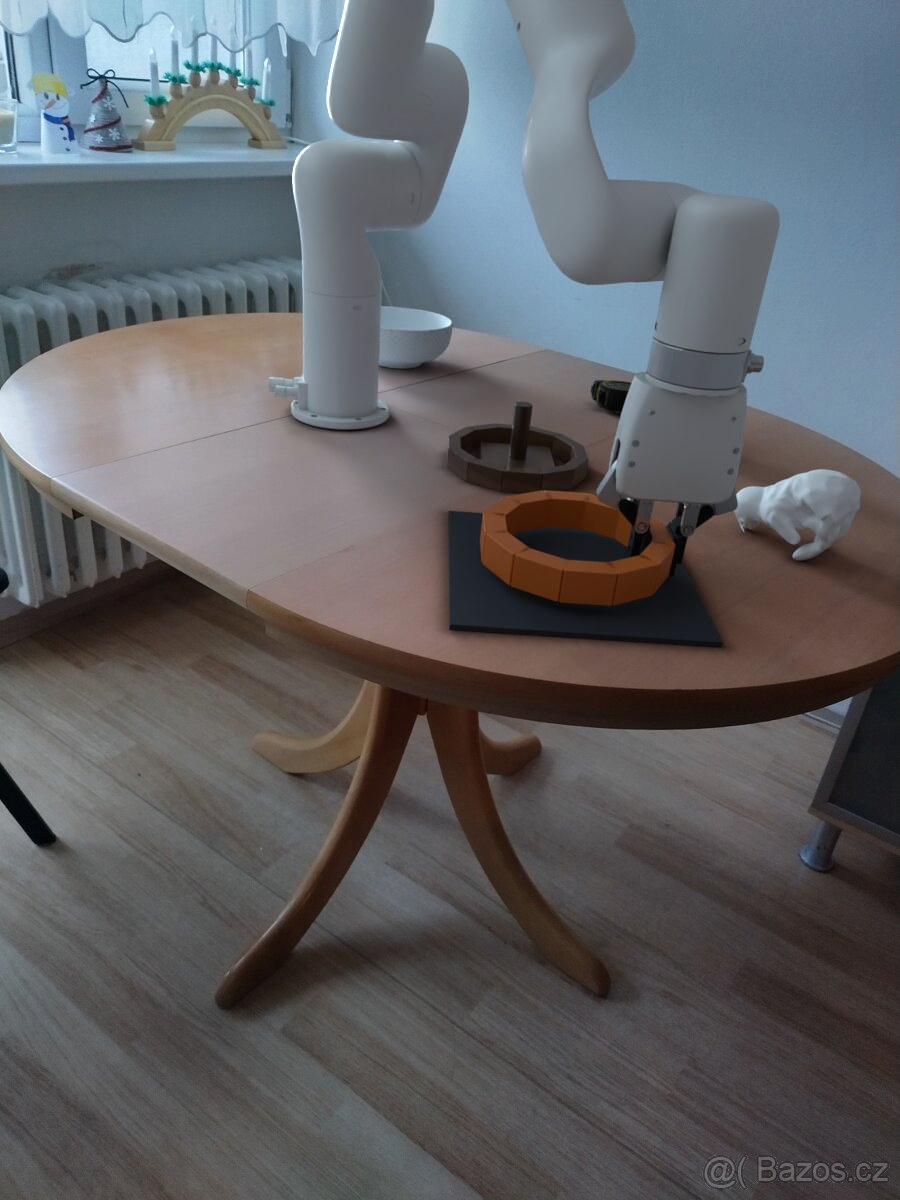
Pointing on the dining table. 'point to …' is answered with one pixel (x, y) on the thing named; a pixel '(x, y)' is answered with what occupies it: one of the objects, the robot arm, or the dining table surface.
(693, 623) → the mat
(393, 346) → the cereal bowl
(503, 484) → the walnut ring
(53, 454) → the dining table surface
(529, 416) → the post
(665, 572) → the orange ring
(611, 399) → the tape measure
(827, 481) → the white animal figurine
